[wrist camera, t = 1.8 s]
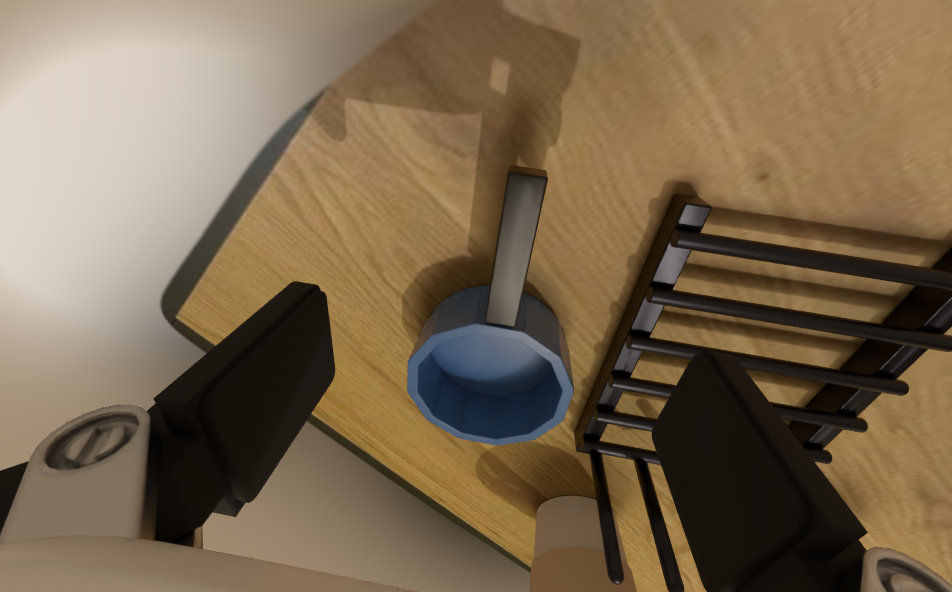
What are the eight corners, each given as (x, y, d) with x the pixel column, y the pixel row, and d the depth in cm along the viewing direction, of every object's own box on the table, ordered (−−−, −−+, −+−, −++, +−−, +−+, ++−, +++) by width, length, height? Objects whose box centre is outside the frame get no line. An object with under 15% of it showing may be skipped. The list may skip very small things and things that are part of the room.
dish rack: (673, 192, 17) (800, 299, 9) (990, 240, 16) (1436, 402, 8) (573, 433, 26) (591, 588, 18) (768, 470, 26) (873, 646, 18)
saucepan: (434, 139, 17) (408, 156, 13) (625, 167, 16) (651, 192, 13) (423, 382, 26) (405, 431, 22) (547, 405, 25) (550, 459, 22)
